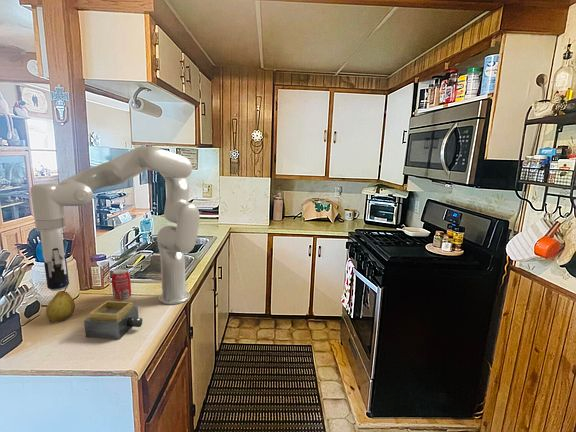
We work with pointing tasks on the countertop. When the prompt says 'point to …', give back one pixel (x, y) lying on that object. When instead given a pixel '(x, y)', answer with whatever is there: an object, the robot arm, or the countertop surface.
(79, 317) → the countertop surface
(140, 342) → the countertop surface
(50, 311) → the fruit
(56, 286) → the beverage can
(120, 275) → the soda can
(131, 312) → the box
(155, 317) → the countertop surface
